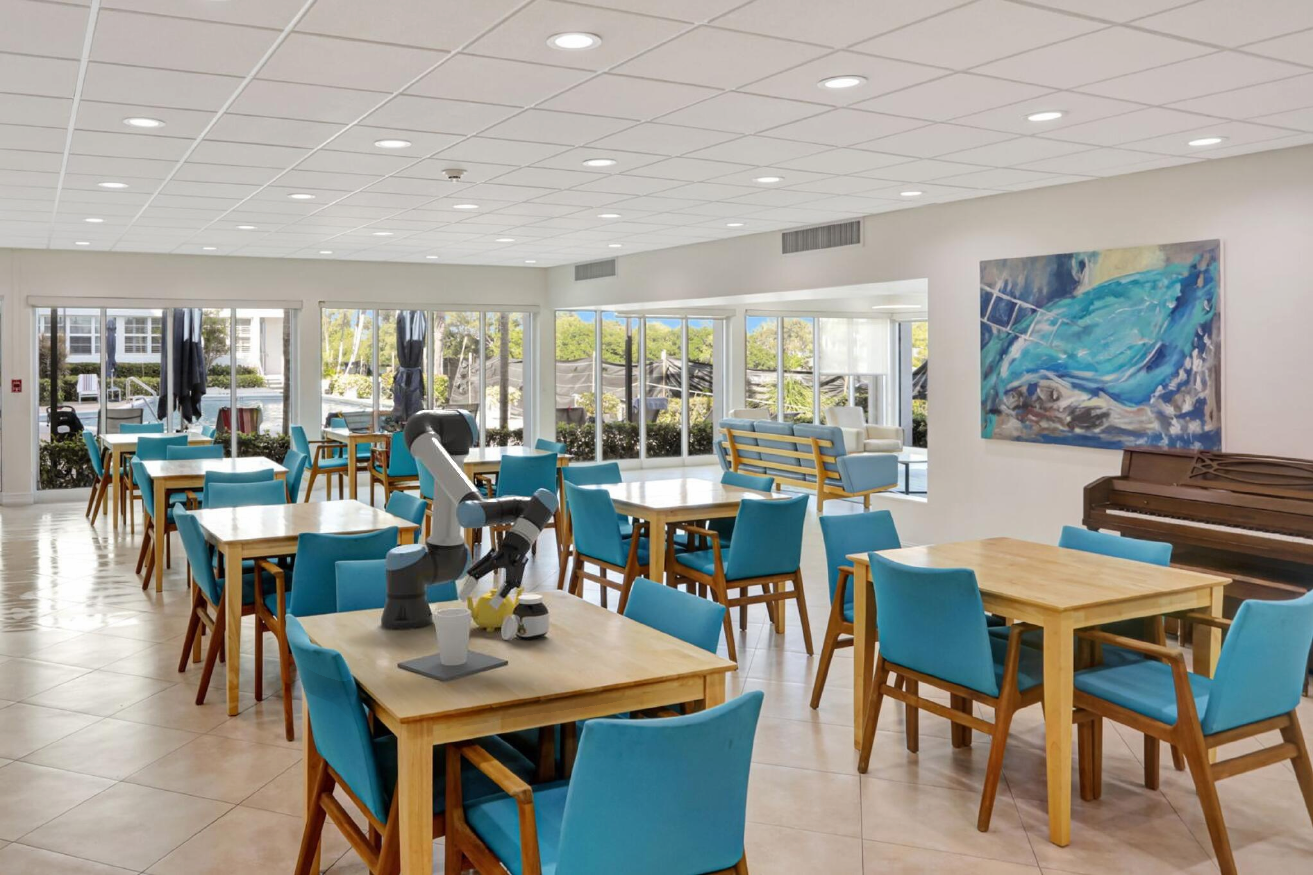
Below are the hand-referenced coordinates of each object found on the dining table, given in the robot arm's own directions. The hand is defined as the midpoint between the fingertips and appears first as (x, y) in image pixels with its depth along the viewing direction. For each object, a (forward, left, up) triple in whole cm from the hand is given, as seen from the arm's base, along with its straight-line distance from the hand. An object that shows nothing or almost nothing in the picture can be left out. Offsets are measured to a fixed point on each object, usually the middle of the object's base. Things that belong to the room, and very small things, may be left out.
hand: (476, 603), depth 269 cm
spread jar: (-7, +23, -15) cm, 28 cm away
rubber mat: (0, -8, -15) cm, 17 cm away
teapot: (-23, +24, -15) cm, 37 cm away
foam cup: (0, -7, -14) cm, 16 cm away
